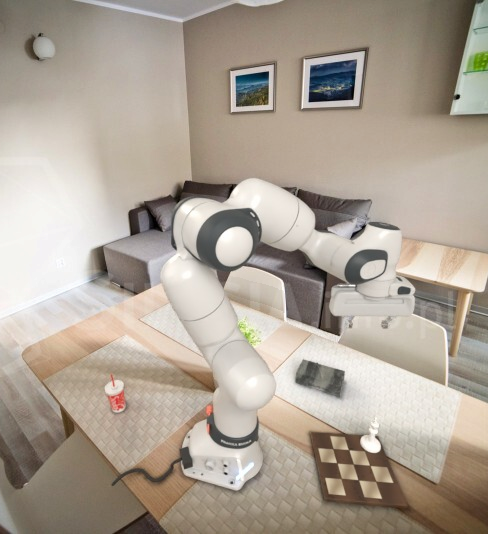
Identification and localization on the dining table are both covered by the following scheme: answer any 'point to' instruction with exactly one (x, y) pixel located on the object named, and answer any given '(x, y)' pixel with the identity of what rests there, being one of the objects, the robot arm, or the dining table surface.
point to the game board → (355, 472)
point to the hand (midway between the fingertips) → (366, 327)
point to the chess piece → (371, 439)
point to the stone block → (320, 377)
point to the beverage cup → (116, 395)
